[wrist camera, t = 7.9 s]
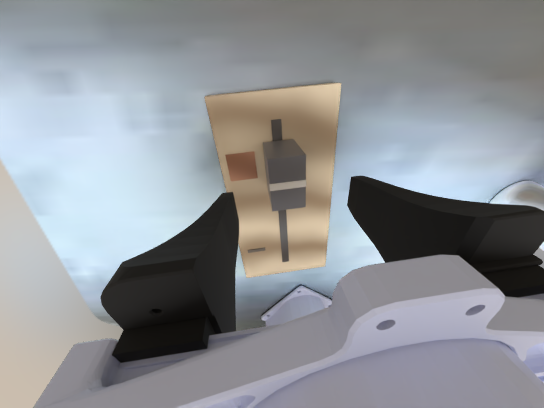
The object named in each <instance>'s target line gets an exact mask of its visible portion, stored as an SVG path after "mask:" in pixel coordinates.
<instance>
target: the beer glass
mask: <svg viewBox="0 0 544 408" xmlns="http://www.w3.org/2000/svg"><path fill="white" fill-rule="evenodd" d="M489 203H491V204H510V205H528V206H533V207H536V208H539V209H541V210H543V211H544V186H542V185H540V184H538V183H536V182H534V181H521V182H517V183H514V184H512V185H510V186H508V187H506V188H505V189H503V190H502V191H501V192H499V193H498V194H497V195H496V196H495V197H494V198H493V199H492V200H491V201H490V202H489ZM539 248H540V249H542V250H543V251H544V242H543V243H542V244H541V246H540V247H539Z"/></svg>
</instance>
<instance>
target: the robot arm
mask: <svg viewBox="0 0 544 408" xmlns="http://www.w3.org/2000/svg"><path fill="white" fill-rule="evenodd" d="M347 206H348V208H349V210H350V212H351V214H352V215H353V217H354V219H355V220H356V221H357V223H358V224H359V225H360V227H361V228H362V229H363V231H364V232H365V233H366V235H367V236H368V237H369V239H370V240H371V241H372V242H373V244H374V245H375V247H376V248H377V250H378V251H379V253H380V254H381V256H382V258H383V259H384V261H385V263H381V264H374V265H368V266H365V267H361V268H358V269H355V270H352V271H351V272H350V273H348V274H347V275H346V276H344V277H343V278H341V279H340V281H339V282H338V284H337V286H336V288H335V290H334V292H333V297H332V300H331V299H329V298H327V297H325V296H323V295H321V294H319V293H316V292H314V291H312V290H310V289H308V288H306V287H304V286H299V287H298V288H296V289H295V290H294V291H293V292H291V293H290V294H289V295H288V296H286V297H285V298H284V299H282V300H281V301H280V302H279V303H277V304H276V305H275V306H274V307H272V308H271V309H270V310H269V311H267V312H266V313H265V314H264V315H262V316H261V319H262V320H263V321H266V326H265V327H259V328H252V329H246V330H240V331H236V316H235V267H236V257H237V249H238V240H239V218H238V213H237V208H236V204H235V199H234V194H233V192H228V193H222V194H221V195H220V197H219V198H218V199H217V200H216V201H215V202H214V203H213V204H212V206H211V207H210V208H209V209H208V210H207V211H206V212H205V213H204V214H203V215H202V216H201V217H200V218H199V219H197V220H196V221H195V222H194V223H193V224H191V225H190V226H189V227H188V228H186V229H185V230H183V231H182V232H180V233H179V234H177V235H176V236H174V237H173V238H171V239H170V240H168V241H166V242H164V243H163V244H161V245H159V246H157V247H155V248H153V249H151V250H149V251H147V252H145V253H143V254H140V255H138V256H136V257H134V258H131V259H129V260H127V261H124V262H122V264H121V265H120V267H119V268H118V269H117V271H116V272H115V274H114V275H113V277H112V278H111V280H110V281H109V283H108V284H107V286H106V287H105V289H104V290H103V292H102V295H101V303H102V305H103V307H104V308H105V310H106V311H107V313H108V314H109V315H110V316H111V317H112V318H113V319H114V320H115V321H116V322H117V323H118V324H119V325H120V327H121V328H122V329H123V330H124V331H123V333H122V335H121V337H120V339H119V341H118V340H116V339H101V340H95V341H88V342H83V343H77V344H75V345H73V347H72V348H71V350H70V351H69V353H68V355H67V356H66V358H65V359H64V361H63V362H62V364H61V365H60V367H59V368H58V370H57V372H56V373H55V375H54V376H53V378H52V379H51V381H50V382H49V384H48V385H47V387H46V389H45V390H44V392H43V393H42V395H41V396H40V398H39V399H38V401H37V402H36V404H35V406H34V407H33V408H544V269H543V268H542V267H540V266H538V265H541V264H542V263H543V261H542V260H541V259H539V258H538V257H536V256H535V255H533V254H534V253H535V251H536V250H537V249H538V248H539V247H540V246H541V244H542V243H543V242H544V211H543V210H541V209H539V208H536V207H533V206H528V205H510V204H491V203H480V202H470V201H461V200H455V199H448V198H442V197H436V196H432V195H427V194H423V193H418V192H414V191H411V190H407V189H404V188H400V187H397V186H394V185H391V184H388V183H385V182H382V181H379V180H376V179H373V178H369V177H365V176H354V177H351V182H350V189H349V196H348V204H347Z"/></svg>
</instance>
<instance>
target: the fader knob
mask: <svg viewBox="0 0 544 408" xmlns="http://www.w3.org/2000/svg"><path fill="white" fill-rule="evenodd" d="M263 151H264V161H265V170H266V179H267V188H268V193H269V198H270V203H271V207H272V212H273V211H280V210H288V209H296V208H303V207H306V154H305V153H304V152H303V150H302V149H301V148H300V147H299V145H298V144H297V143H296V142H295V140H294V139H289V140H280V141H271V142H263Z"/></svg>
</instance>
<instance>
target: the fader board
mask: <svg viewBox="0 0 544 408" xmlns="http://www.w3.org/2000/svg"><path fill="white" fill-rule="evenodd" d="M340 92H341V83H326V84H316V85H306V86H296V87H286V88H277V89H267V90H257V91H247V92H237V93H227V94H218V95H208V96H205V102H206V106H207V110H208V114H209V119H210V123H211V127H212V132H213V136H214V140H215V144H216V149H217V153H218V157H219V162H220V166H221V170H222V174H223V179H224V183H225V187H226V192H227V193H228V192H233V194H234V199H235V204H236V208H237V213H238V218H239V240H238V243H239V247H240V251H241V256H242V260H243V264H244V269H245V273H246V277H247V278H250V277H256V276H263V275H270V274H277V273H283V272H290V271H297V270H304V269H310V268H317V267H324V266H325V263H326V251H327V240H328V228H329V217H330V206H331V194H332V183H333V171H334V160H335V149H336V137H337V126H338V114H339V103H340ZM289 139H294V140H295V142H296V143H297V144H298V145H299V147H300V148H301V149H302V150H303V152H304V153H305V154H306V207H303V208H296V209H288V210H280V211H273V212H272V207H271V203H270V198H269V193H268V188H267V179H266V170H265V161H264V151H263V142H271V141H280V140H289Z"/></svg>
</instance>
